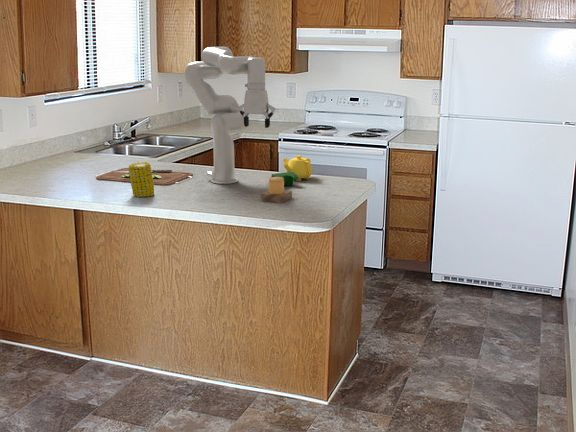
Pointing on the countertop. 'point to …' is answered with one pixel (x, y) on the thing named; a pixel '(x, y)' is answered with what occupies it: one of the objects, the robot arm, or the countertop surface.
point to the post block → (276, 196)
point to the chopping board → (158, 176)
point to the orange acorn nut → (276, 185)
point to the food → (141, 179)
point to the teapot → (299, 167)
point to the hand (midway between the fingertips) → (256, 126)
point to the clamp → (287, 177)
